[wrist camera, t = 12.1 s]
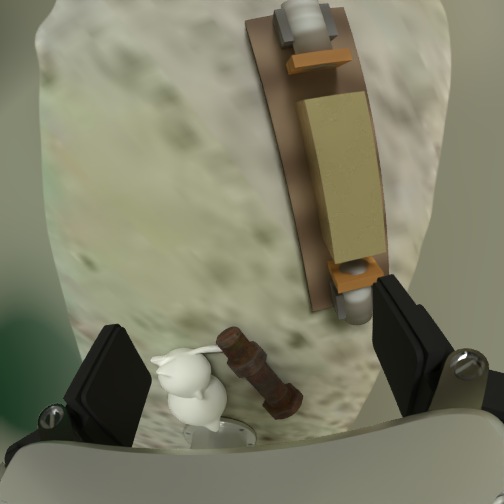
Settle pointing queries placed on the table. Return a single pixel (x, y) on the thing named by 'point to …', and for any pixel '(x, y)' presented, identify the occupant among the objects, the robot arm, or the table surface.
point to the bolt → (259, 373)
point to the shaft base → (292, 145)
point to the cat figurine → (192, 386)
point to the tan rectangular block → (344, 174)
